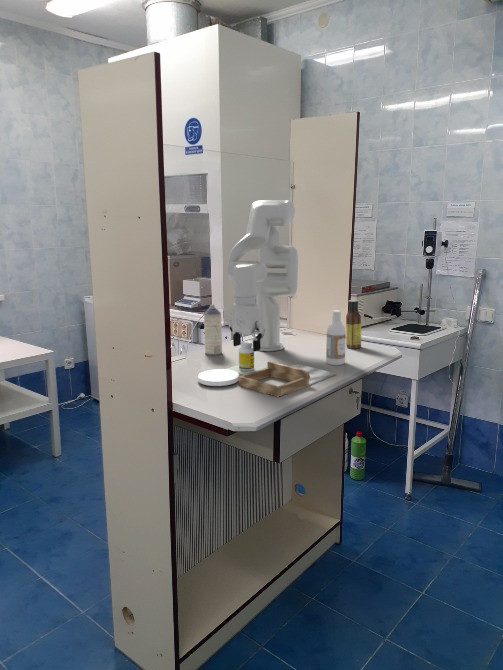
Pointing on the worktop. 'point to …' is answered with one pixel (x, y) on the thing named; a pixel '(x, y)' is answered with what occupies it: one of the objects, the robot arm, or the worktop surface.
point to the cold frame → (283, 378)
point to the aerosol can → (213, 331)
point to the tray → (236, 369)
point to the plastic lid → (218, 377)
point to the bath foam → (336, 341)
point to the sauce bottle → (353, 326)
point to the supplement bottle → (246, 356)
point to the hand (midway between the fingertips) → (246, 348)
